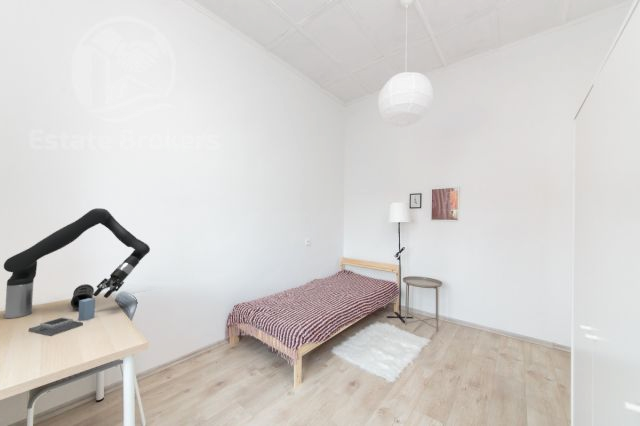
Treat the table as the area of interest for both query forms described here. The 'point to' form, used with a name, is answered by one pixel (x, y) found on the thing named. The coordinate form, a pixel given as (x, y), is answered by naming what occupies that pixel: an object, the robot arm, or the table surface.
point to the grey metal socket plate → (55, 326)
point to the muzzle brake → (81, 294)
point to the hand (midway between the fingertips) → (99, 296)
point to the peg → (86, 309)
